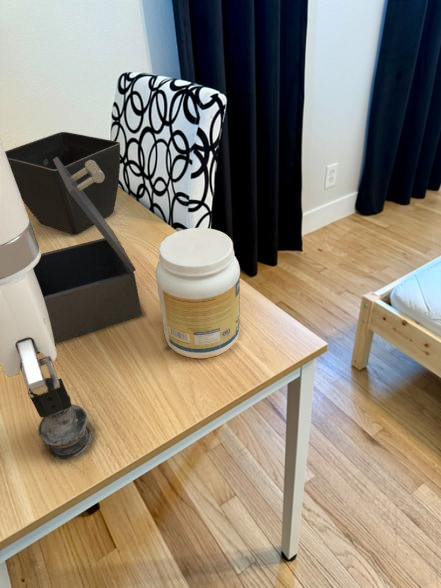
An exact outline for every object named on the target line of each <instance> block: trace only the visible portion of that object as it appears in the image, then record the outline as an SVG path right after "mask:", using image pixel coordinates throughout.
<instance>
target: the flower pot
mask: <svg viewBox="0 0 441 588" xmlns="http://www.w3.org/2000/svg"><path fill="white" fill-rule="evenodd" d="M4 151H5V154H6V156H7V159H8V162H9V165H10V167H11V170H12V173H13V176H14V178H15V181H16V184H17V187H18V189H19V192H20V195H21V198H22V200H23V203H24V206H25V207H27V209H28V210H29V211H30V212H31V214H32V215H33V217H34V218H35V219H36V220H37V221H38V222H39V224H43V225H46V226H49V227H51V228H54V229H58V230H60V231H63V232H67V233H69V234H73V235H76V234H79V233H82V232H83V231H85V230H87V229H89V228H90V227H92V226H95V225H94V224H93V222H92V221H91V220H90V219H89V217H88V216H87V215H86V213H85V212H84V211H83V210H82V208H81V207H80V206H79V204H78V203H77V202H76V201H75V199H74V198H73V197H72V196H71V194H70V193H69V191H68V189H67V187H66V185H65V183H64V181H63V179H62V177H61V175H60V173H59V171H58V169H57V167H56V165H55V163H54V161H53V159H54V158H56V157H58V158H59V160H60V161H61V162H62V164H63V165H64V166H65V168H66V169H67V170H68V172H69V173H70V174H71V176H72V175H74V174H75V173H77V172H78V171H80V170H82V169H83V168H85V163H86V162H87V161H88V160H93V161H95V162H96V163H97V165H98V166H99V168H100V169H101V171H102V172H103V173H104V176H105V178H104V180H103V182H101V183H96V182H93V183H92V184H90V185H89V186H87V187H86V188H84V189H83V192H84V193H85V194H86V196H87V197H88V198H89V200H90V201H91V202H92V204H93V205H94V206H95V208H96V209H97V210H98V212H99V213H100V214H101V216H102V217H103V218H104V219H106V218H107V217H109V216H111V215H112V214H113V213H114V211H115V206H116V201H117V195H118V190H119V182H120V172H121V171H120V169H121V142H120V141H117V140H111V139H106V138H100V137H95V136H89V135H84V134H81V133H80V134H79V133H74V132H69V131H68V132H67V131H60V132H57V133H54V134H50V135H48V136H45V137H42V138H39V139H36V140H33V141H31V142H28V143H25V144H22V145H19V146H16V147H13V148H11V149H8V150H4ZM90 177H91V176H90V175H89V173H87V174H85V175H84V176H82V177H81V178H79V179H78V180H76V182H77V184H78V185H79V184H80V183H82V182H83V181H85V180H86V179H88V178H90Z"/></svg>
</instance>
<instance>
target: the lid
mask: <svg viewBox="0 0 441 588" xmlns="http://www.w3.org/2000/svg"><path fill="white" fill-rule="evenodd" d="M53 161H54V163H55V165H56V167H57V169H58V171H59V173H60V175H61V177H62V179H63V181H64V183H65V185H66V187H67V189H68V191H69V193H70V194H71V196H72V197H73V198H74V199H75V201H76V202H77V203H78V204H79V206H80V207H81V208H82V210H83V211H84V212H85V213H86V215H87V216H88V217H89V219H90V220H91V221H92V222H93V224H94V225H93V226H95V228H96V229H97V230H98V232H100V234H101V235H102V236H103V238H105V239H106V240H107V242H108V243H109V244H110V245H111V247H112V248H113V249H114V250H115V252H116V253H117V254H118V256H119V257H120V258H121V259H122V261H123V262H124V263H125V265H126V266H127V267H128V268H129V270H130V271H131V272H132V273H133V272H134V273H135V272H136V271H137V269H136V267H135V266H134V264H133V262H132V260H131V259H130V256H129V255H128V254H127V251H126V250H125V249H124V247H123V245H122V243H121V242H120V240H119V238H118V236H117V235H116V233H115V232H114V230H113V229H112V228H111V226H110V224H108V222H107V221H106V220H105V218H103V217H102V216H101V214H100V213H99V212H98V210H97V209H96V208H95V206H94V205H93V204H92V202H91V201H90V200H89V198H88V197H87V196H86V194H85V193H84V192H83V189H84V188H86V187H87V186H89V185H90V184H92V183H93V182H96V183H101V182H103V180H104V178H105V176H104V173H103V172H102V171H101V169H100V168H99V166H98V165H97V163H96V162H95V161H93V160H88V161H87V162H86V163H85V168H83V169H82V170H80V171H78V172H77V173H75V174H74V175H72V176H71V174H70V173H69V172H68V170H67V169H66V168H65V166H64V165H63V164H62V162H61V161H60V160H59V158H58V157H56V158H54V159H53ZM87 173H89V175H90V176H91V177H90V178H88V179H86V180H85V181H83V182H82V183H80V184H79V185H78V184H77V182H76V180H78V179H79V178H81V177H82V176H84V175H85V174H87Z"/></svg>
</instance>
